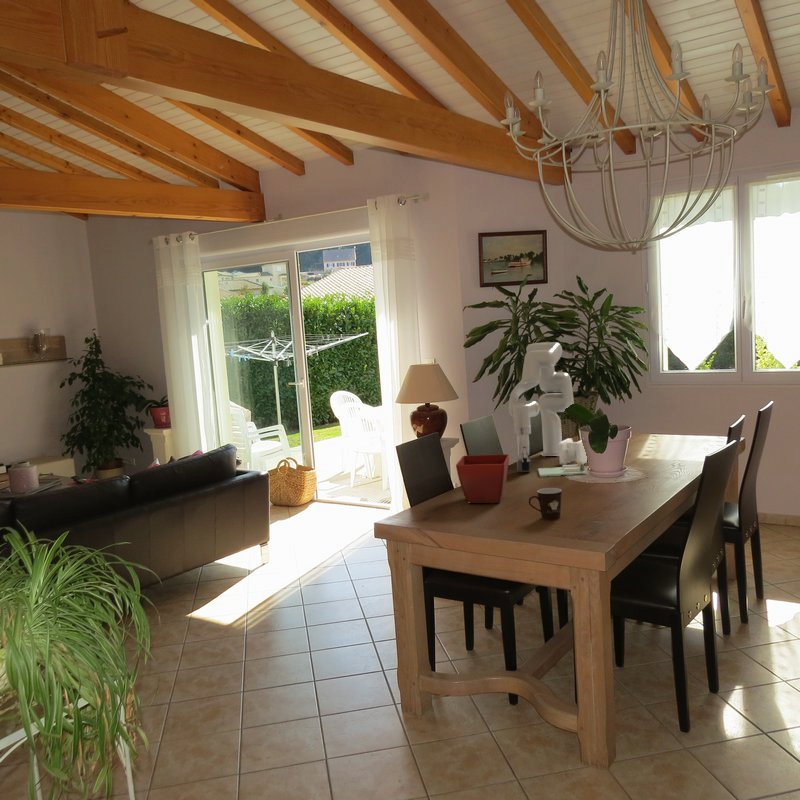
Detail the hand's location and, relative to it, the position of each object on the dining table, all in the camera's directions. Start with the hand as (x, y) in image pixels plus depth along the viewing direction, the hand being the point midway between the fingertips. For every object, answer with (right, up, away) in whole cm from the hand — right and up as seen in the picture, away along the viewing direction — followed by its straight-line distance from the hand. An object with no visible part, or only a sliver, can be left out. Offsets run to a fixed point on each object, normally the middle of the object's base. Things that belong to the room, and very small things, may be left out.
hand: (525, 468), depth 356 cm
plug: (-1, -1, 0) cm, 1 cm away
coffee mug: (-5, -11, -80) cm, 81 cm away
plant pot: (-24, -9, -47) cm, 53 cm away
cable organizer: (+25, +1, +10) cm, 27 cm away
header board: (+15, -1, -6) cm, 16 cm away
